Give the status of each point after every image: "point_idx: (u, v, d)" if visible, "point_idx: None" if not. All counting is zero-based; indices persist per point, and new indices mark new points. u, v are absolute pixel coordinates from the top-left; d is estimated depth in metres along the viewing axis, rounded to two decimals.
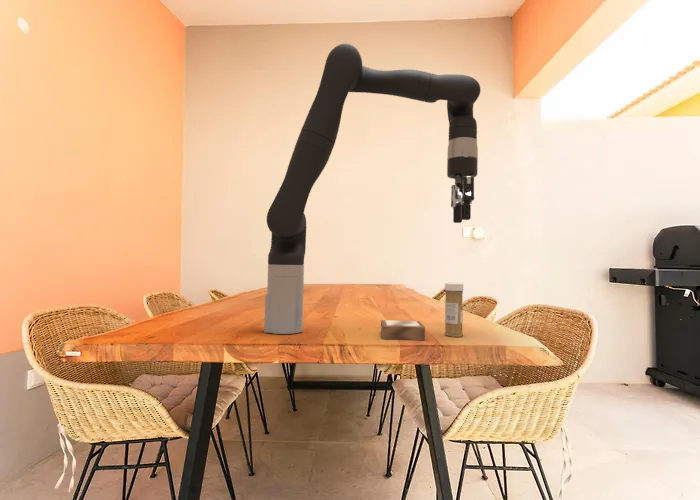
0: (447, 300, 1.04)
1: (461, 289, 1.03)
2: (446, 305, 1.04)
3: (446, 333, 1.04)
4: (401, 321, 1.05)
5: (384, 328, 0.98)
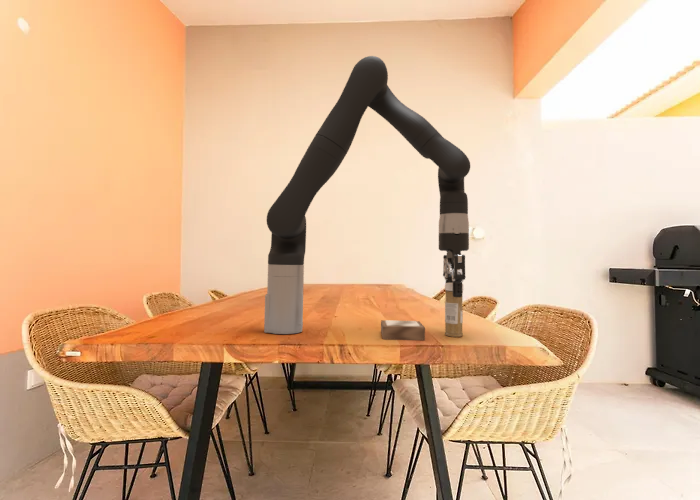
0: (447, 300, 1.04)
1: None
2: (446, 305, 1.04)
3: (446, 333, 1.04)
4: (401, 321, 1.05)
5: (384, 328, 0.98)
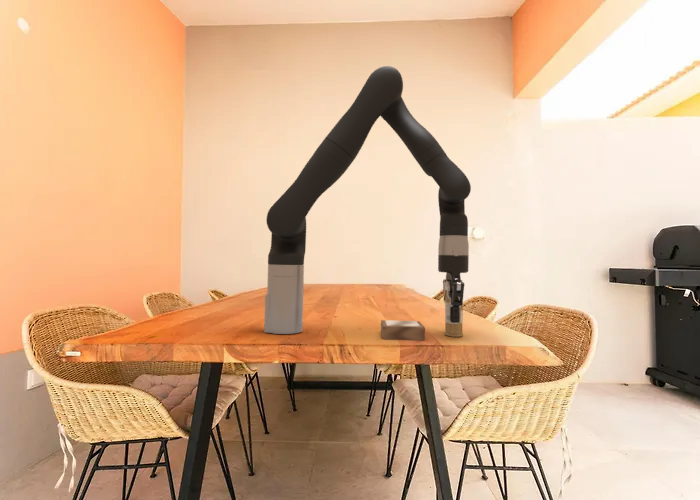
0: (447, 300, 1.04)
1: None
2: (446, 305, 1.04)
3: (446, 333, 1.04)
4: (401, 321, 1.05)
5: (384, 328, 0.98)
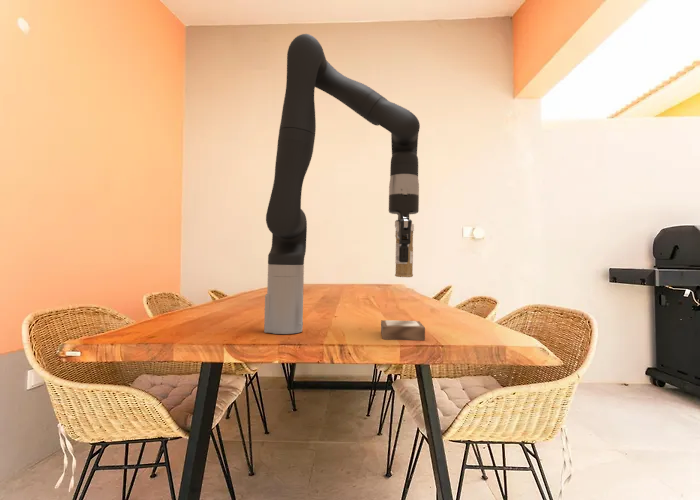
0: (397, 240, 1.02)
1: (411, 229, 1.02)
2: (396, 246, 1.03)
3: (396, 274, 1.02)
4: (401, 321, 1.05)
5: (384, 328, 0.98)
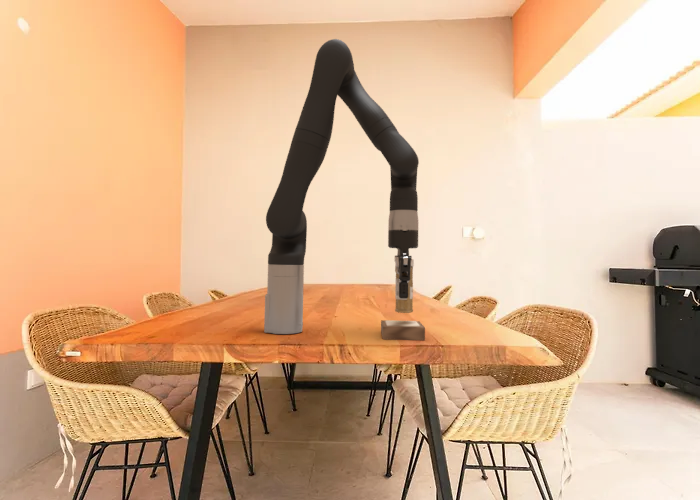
0: (397, 276, 1.02)
1: (411, 264, 1.01)
2: (396, 281, 1.02)
3: (396, 309, 1.02)
4: (401, 321, 1.05)
5: (384, 328, 0.98)
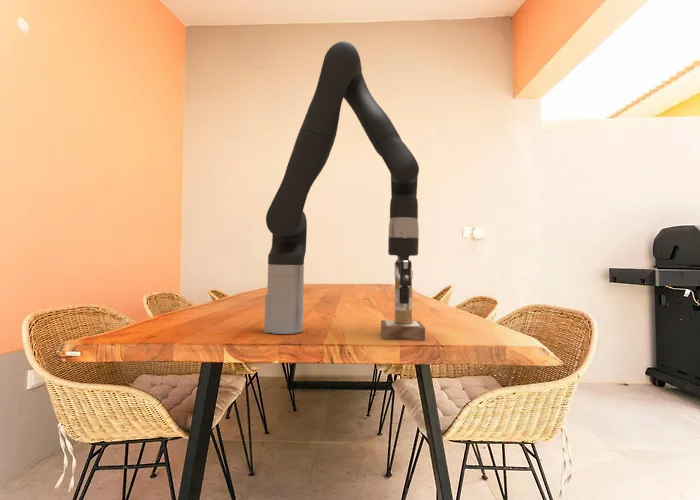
0: (396, 287, 1.02)
1: None
2: (395, 292, 1.02)
3: (395, 320, 1.02)
4: None
5: (384, 328, 0.98)
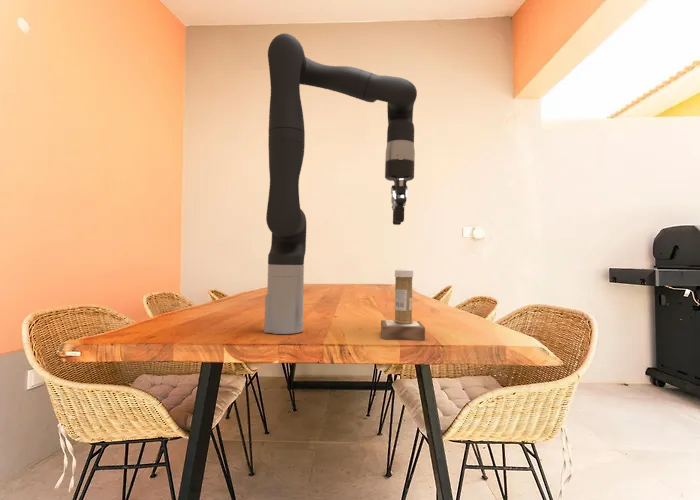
0: (396, 287, 1.02)
1: (410, 275, 1.01)
2: (395, 292, 1.02)
3: (395, 320, 1.02)
4: None
5: (384, 328, 0.98)
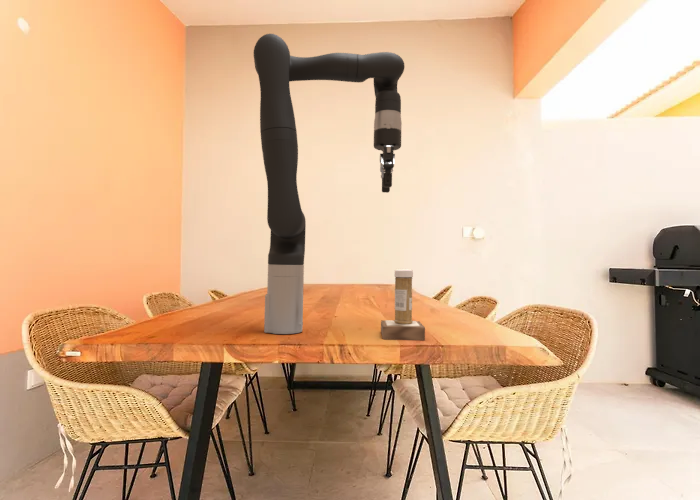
0: (396, 287, 1.02)
1: (410, 275, 1.01)
2: (395, 292, 1.02)
3: (395, 320, 1.02)
4: None
5: (384, 328, 0.98)
